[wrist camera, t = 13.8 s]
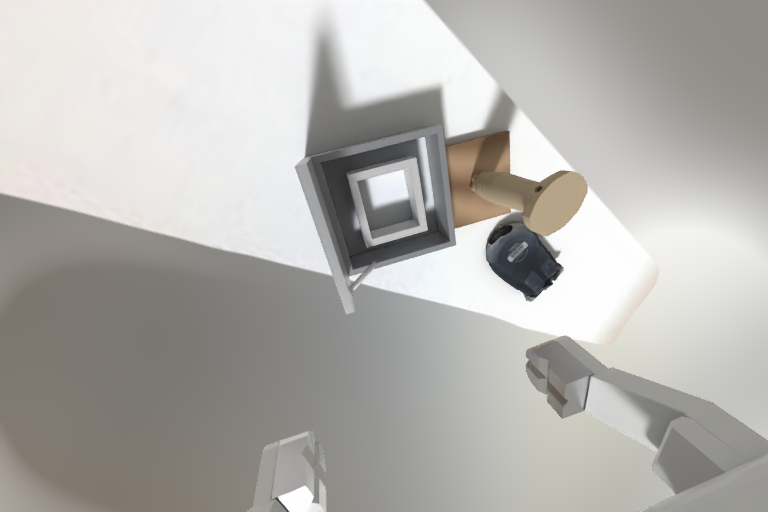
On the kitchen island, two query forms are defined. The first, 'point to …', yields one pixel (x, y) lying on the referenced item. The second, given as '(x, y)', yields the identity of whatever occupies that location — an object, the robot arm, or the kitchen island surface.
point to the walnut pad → (472, 161)
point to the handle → (535, 197)
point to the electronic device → (523, 261)
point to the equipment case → (329, 222)
